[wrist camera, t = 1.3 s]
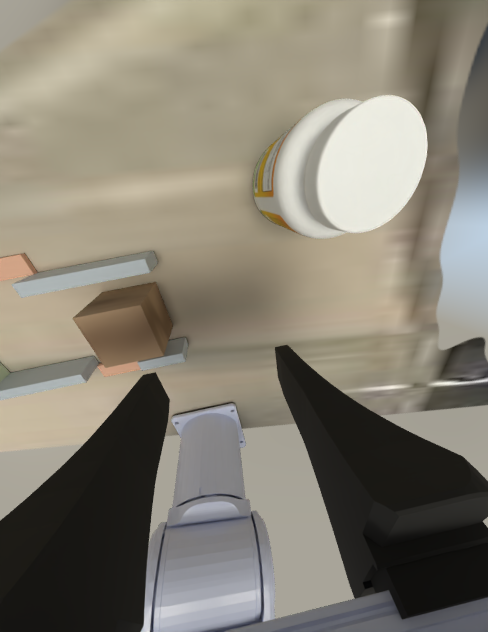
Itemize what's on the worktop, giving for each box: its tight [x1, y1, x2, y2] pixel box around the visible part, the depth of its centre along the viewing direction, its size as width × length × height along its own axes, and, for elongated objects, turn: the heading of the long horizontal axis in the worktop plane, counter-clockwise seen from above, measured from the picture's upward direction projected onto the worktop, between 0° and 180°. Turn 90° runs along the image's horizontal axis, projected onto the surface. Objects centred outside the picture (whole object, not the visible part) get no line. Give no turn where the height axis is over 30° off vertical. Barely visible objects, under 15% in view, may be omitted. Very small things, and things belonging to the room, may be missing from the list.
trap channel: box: [0, 251, 188, 400], centre depth 18 cm, size 12×18×2 cm
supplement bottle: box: [253, 95, 427, 239], centre depth 12 cm, size 5×5×10 cm
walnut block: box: [73, 282, 173, 368], centre depth 17 cm, size 4×4×4 cm
